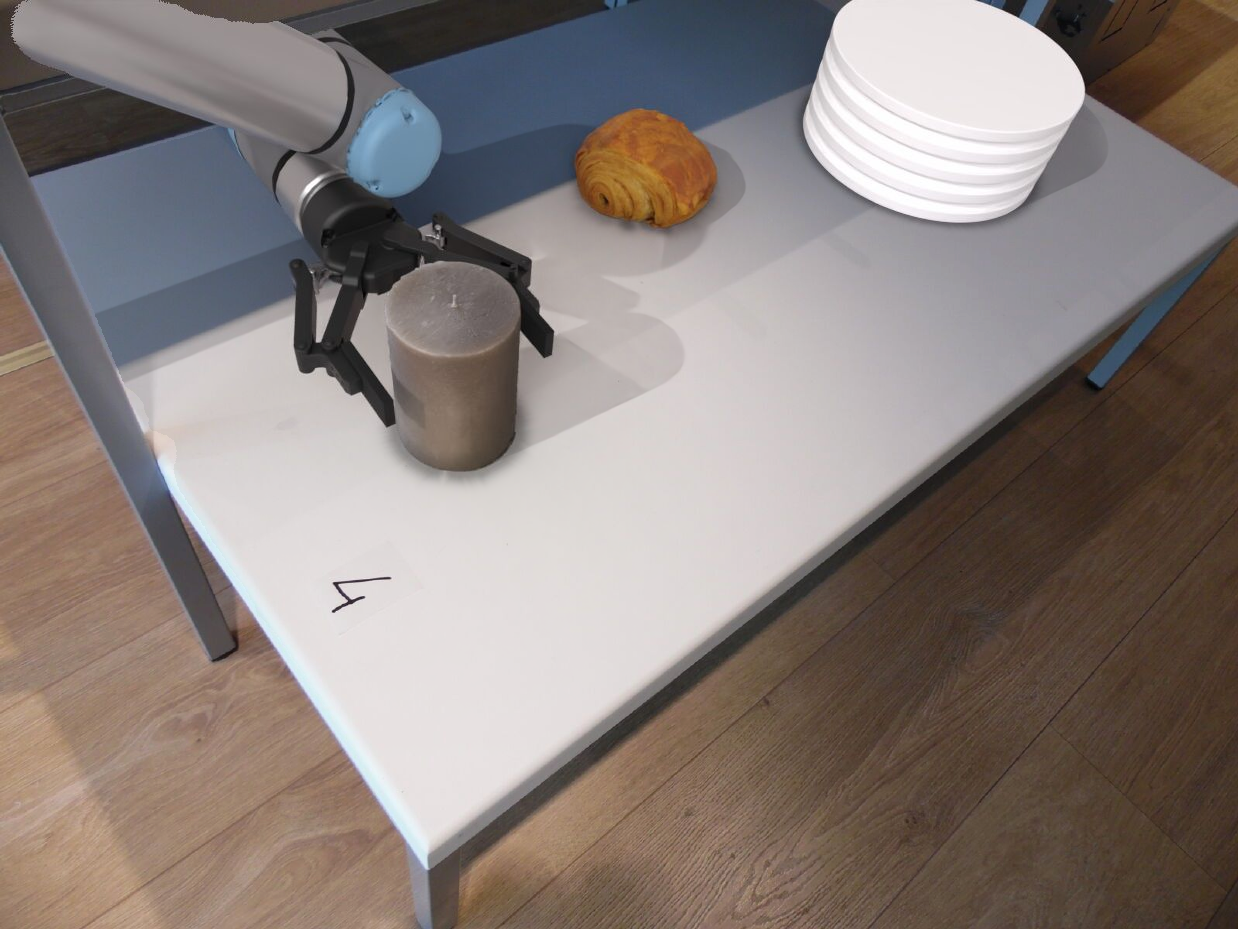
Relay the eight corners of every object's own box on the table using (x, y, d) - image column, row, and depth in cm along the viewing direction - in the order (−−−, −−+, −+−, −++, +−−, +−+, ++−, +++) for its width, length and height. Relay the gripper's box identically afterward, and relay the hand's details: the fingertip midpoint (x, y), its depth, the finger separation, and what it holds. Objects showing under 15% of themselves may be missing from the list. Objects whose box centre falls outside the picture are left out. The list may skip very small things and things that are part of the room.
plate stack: (800, 62, 117) (827, -29, 107) (1012, 99, 118) (1058, 12, 109) (805, 199, 100) (839, 104, 91) (1053, 241, 101) (1111, 152, 92)
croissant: (549, 204, 97) (545, 143, 90) (636, 127, 104) (639, 64, 97) (659, 267, 93) (664, 208, 86) (743, 182, 99) (754, 121, 92)
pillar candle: (537, 443, 76) (549, 313, 64) (431, 492, 71) (422, 362, 59) (479, 366, 80) (480, 230, 68) (375, 407, 76) (356, 270, 64)
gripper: (470, 205, 85) (602, 351, 76) (203, 295, 74) (321, 478, 65) (470, 134, 79) (613, 284, 70) (180, 221, 68) (306, 411, 59)
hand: (473, 378), depth 68 cm, fingers open, 13 cm apart
